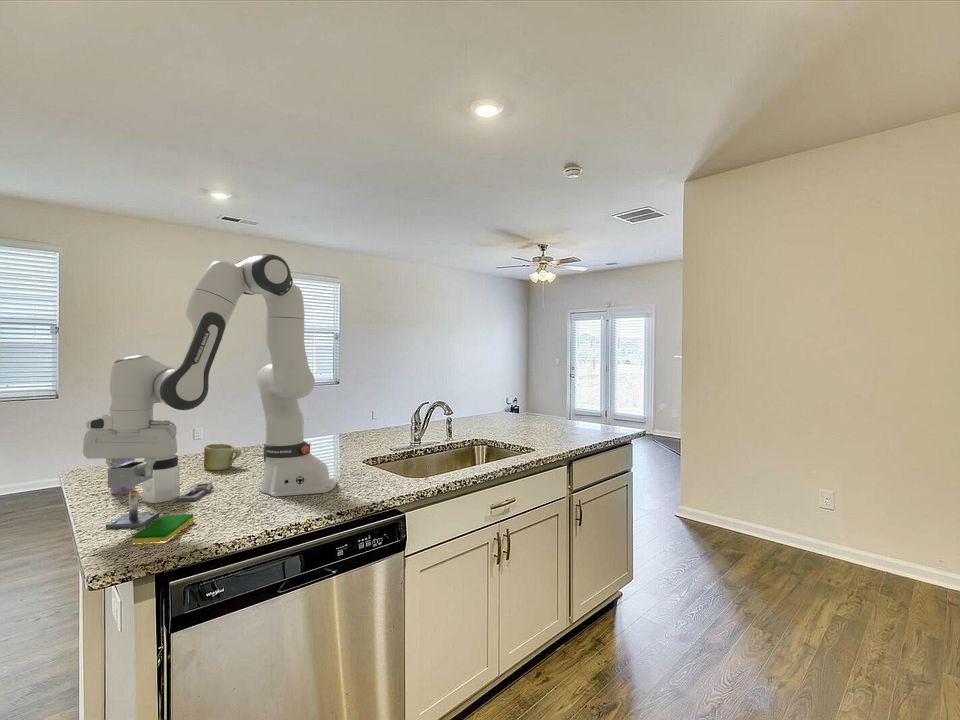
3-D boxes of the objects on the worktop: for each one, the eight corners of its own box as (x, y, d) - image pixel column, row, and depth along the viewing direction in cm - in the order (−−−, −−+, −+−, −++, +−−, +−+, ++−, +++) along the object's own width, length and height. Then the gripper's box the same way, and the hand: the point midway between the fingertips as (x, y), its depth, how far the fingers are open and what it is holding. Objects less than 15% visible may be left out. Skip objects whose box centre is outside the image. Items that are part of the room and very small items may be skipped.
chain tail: (220, 485, 153) (220, 479, 153) (197, 500, 138) (197, 494, 138) (196, 485, 152) (196, 479, 152) (171, 501, 137) (171, 494, 137)
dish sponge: (194, 522, 122) (194, 513, 122) (165, 545, 108) (165, 534, 108) (163, 524, 121) (163, 514, 121) (131, 546, 107) (131, 536, 107)
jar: (136, 501, 137) (135, 459, 137) (162, 493, 145) (162, 453, 144) (160, 504, 134) (159, 461, 134) (186, 496, 142) (185, 455, 142)
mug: (191, 466, 169) (202, 438, 172) (210, 468, 179) (221, 442, 181) (220, 475, 167) (231, 446, 169) (238, 476, 176) (249, 450, 179)
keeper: (159, 516, 125) (159, 485, 125) (141, 527, 117) (141, 495, 117) (126, 517, 124) (125, 486, 124) (105, 528, 117) (105, 496, 116)
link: (152, 477, 125) (152, 460, 125) (131, 487, 116) (132, 469, 116) (130, 477, 125) (130, 460, 124) (107, 487, 116) (107, 469, 116)
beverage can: (122, 495, 142) (121, 444, 142) (105, 494, 143) (104, 443, 143) (140, 489, 148) (139, 440, 148) (123, 488, 149) (123, 439, 149)
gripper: (182, 418, 124) (181, 472, 125) (96, 418, 122) (95, 472, 122) (169, 422, 118) (169, 478, 118) (78, 422, 116) (78, 479, 116)
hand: (131, 475), depth 120 cm, fingers closed on link, 5 cm apart
